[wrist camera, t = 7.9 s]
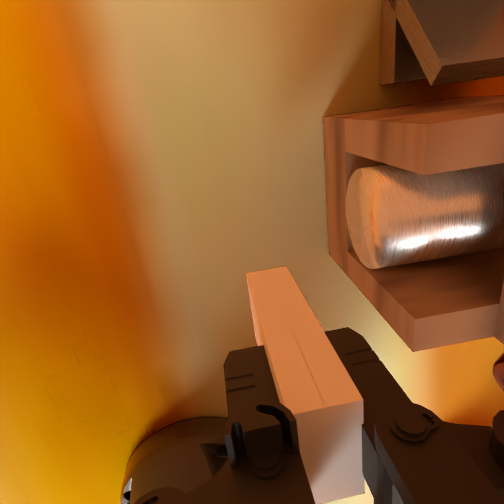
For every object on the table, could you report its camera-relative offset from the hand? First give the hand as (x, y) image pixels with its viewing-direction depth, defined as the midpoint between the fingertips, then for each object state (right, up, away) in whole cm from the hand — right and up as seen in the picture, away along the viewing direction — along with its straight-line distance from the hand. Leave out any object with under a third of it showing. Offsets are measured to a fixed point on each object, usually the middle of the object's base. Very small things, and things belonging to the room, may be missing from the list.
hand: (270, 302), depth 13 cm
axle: (+14, +6, +9) cm, 18 cm away
